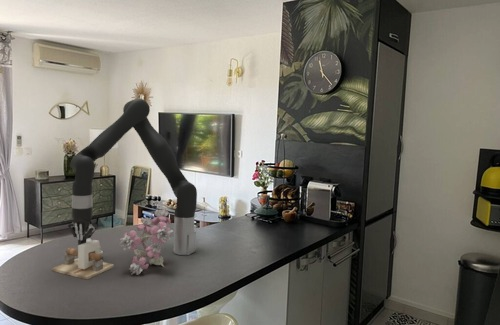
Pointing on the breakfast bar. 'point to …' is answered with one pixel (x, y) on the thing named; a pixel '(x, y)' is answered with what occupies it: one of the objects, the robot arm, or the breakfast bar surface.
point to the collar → (87, 253)
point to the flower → (152, 232)
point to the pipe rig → (72, 268)
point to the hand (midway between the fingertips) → (82, 248)
